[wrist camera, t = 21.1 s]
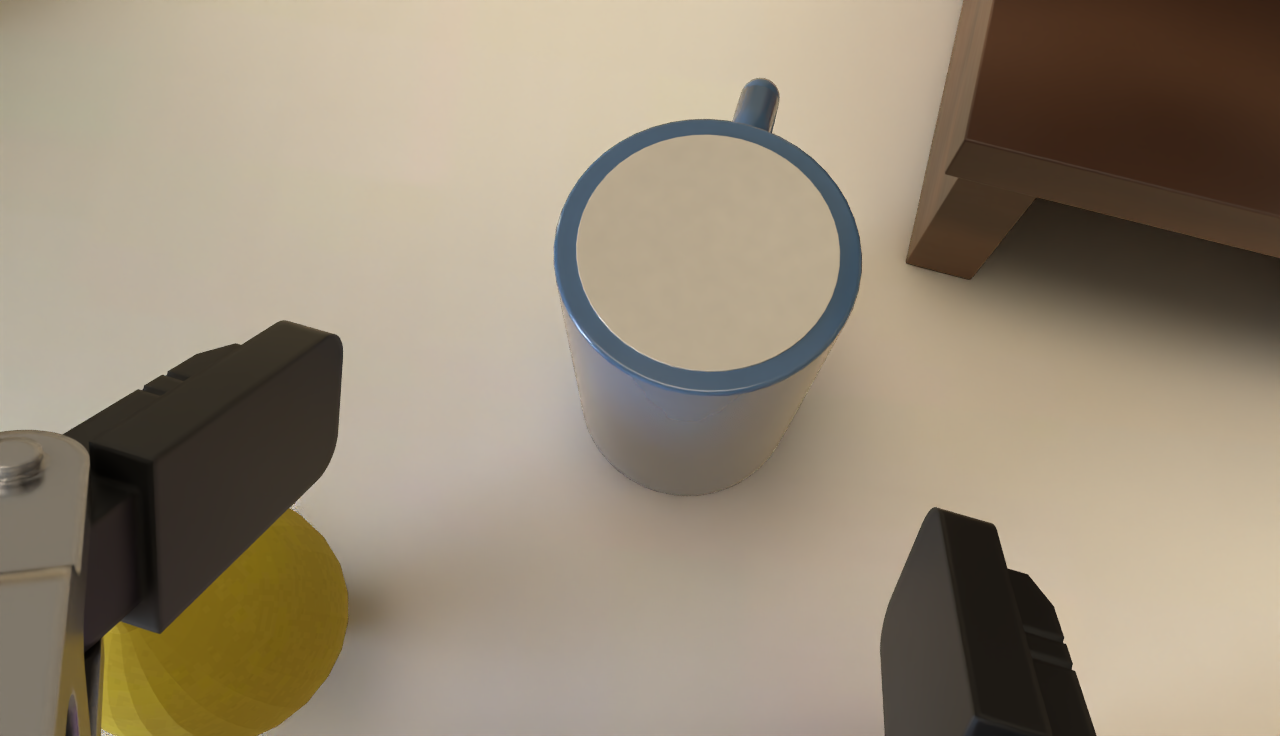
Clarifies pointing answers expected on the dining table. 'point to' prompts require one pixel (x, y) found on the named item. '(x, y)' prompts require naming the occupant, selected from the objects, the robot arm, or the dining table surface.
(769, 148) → the mug
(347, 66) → the dining table surface
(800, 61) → the dining table surface
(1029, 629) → the robot arm
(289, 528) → the lemon
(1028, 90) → the shelf
